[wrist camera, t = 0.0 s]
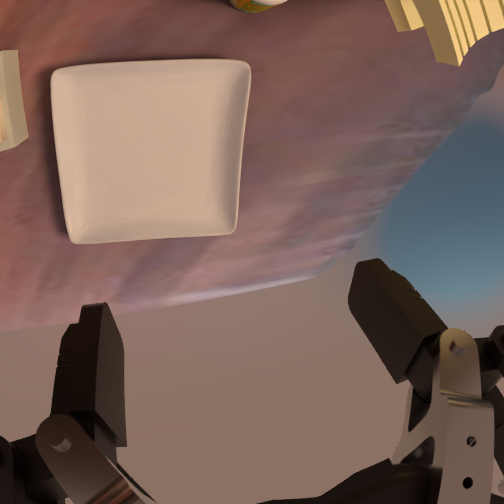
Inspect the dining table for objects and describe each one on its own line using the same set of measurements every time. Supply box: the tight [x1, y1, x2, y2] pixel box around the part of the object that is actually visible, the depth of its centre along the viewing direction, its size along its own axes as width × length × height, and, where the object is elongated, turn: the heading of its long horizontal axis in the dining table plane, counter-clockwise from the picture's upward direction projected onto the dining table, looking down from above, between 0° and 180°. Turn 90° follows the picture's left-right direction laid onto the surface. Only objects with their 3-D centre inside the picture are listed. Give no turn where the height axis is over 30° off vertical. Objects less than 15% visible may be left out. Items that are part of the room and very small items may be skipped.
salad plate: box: [51, 59, 251, 244], centre depth 33 cm, size 21×21×3 cm
